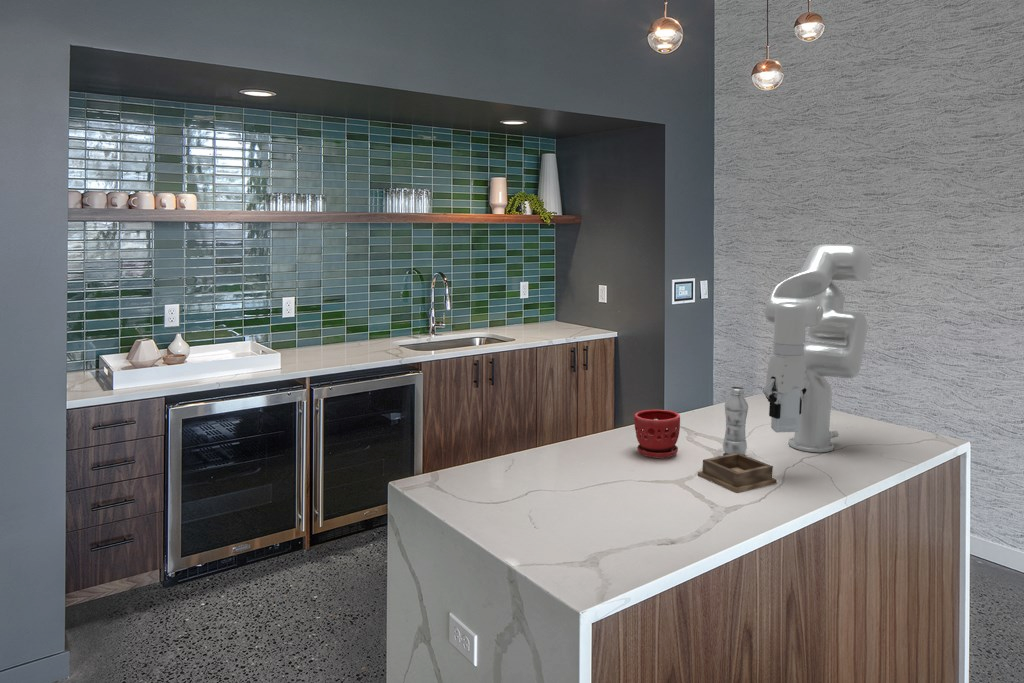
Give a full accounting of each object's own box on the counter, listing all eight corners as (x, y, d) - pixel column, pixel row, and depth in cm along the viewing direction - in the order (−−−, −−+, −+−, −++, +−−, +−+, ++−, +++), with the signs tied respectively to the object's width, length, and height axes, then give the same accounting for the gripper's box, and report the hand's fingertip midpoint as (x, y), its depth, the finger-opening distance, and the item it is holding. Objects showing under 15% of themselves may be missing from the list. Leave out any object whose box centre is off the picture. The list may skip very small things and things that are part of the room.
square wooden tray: (736, 467, 198) (737, 451, 197) (776, 483, 185) (777, 466, 185) (697, 475, 191) (698, 459, 190) (736, 492, 179) (737, 475, 178)
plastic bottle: (747, 459, 204) (751, 391, 201) (723, 457, 205) (726, 390, 202) (745, 452, 210) (748, 385, 207) (721, 450, 212) (724, 384, 208)
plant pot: (675, 447, 215) (677, 408, 213) (681, 461, 203) (683, 420, 201) (632, 445, 217) (633, 407, 215) (635, 460, 204) (636, 419, 202)
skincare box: (792, 427, 192) (795, 384, 190) (799, 433, 188) (801, 388, 186) (769, 428, 192) (771, 384, 190) (775, 433, 188) (778, 388, 186)
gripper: (800, 343, 193) (796, 407, 197) (753, 350, 185) (750, 416, 189) (823, 348, 187) (819, 413, 190) (775, 355, 179) (772, 424, 182)
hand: (785, 414), depth 189 cm, fingers closed on skincare box, 7 cm apart
